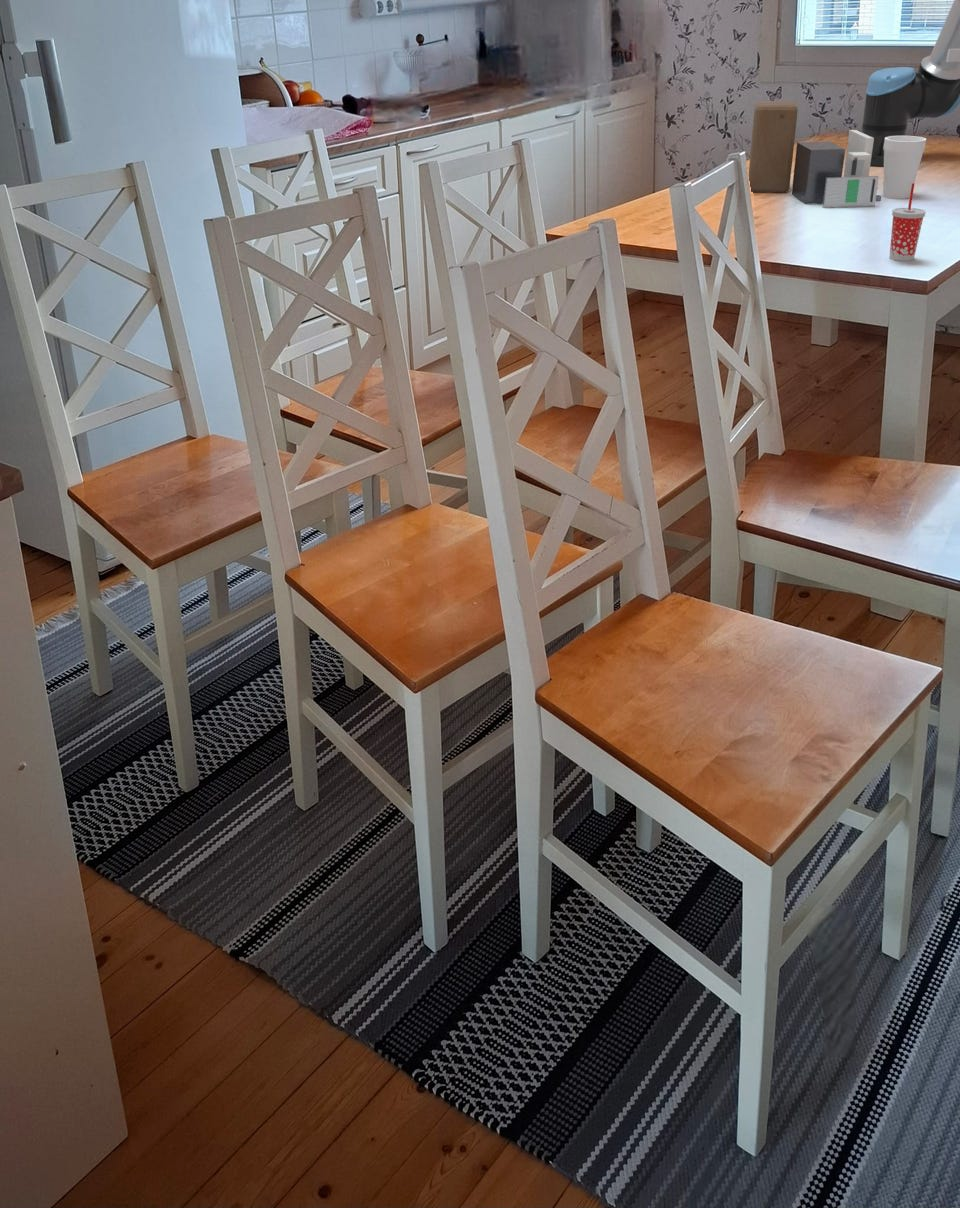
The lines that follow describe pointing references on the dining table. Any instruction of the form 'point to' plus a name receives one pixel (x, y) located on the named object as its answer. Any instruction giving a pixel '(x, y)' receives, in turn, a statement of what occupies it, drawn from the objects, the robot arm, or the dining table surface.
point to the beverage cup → (905, 231)
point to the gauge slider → (858, 154)
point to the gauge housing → (829, 178)
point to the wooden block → (772, 146)
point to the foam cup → (901, 164)
